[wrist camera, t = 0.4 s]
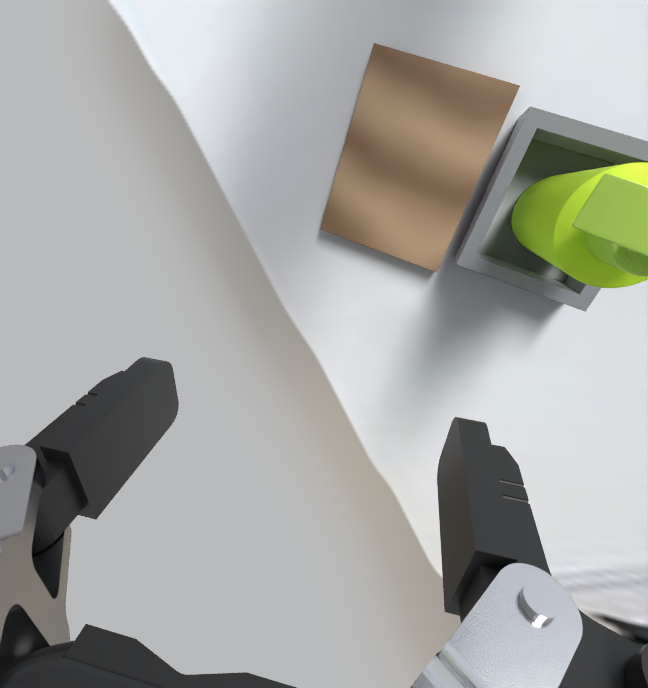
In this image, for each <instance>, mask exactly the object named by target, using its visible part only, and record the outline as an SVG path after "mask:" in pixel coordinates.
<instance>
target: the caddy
mask: <svg viewBox="0 0 648 688" xmlns="http://www.w3.org/2000/svg"><path fill="white" fill-rule="evenodd" d="M532 138H533V139H536V140H540V141H543V142H546V143H549V144H552V145H556V146H559V147H562V148H565V149H569V150H572V151H575V152H578V153H582V154H585V155H588V156H591V157H595V158H598V159H601V160H604V161H608V162H611V163H614V164H617V165H621V164H627V163H635V162H647V163H648V141H644V140H641V139H638V138H634V137H631V136H628V135H624V134H621V133H617V132H614V131H611V130H607V129H604V128H601V127H597V126H594V125H591V124H587V123H584V122H580V121H577V120H574V119H570V118H567V117H564V116H560V115H557V114H554V113H550V112H547V111H544V110H540V109H537V108H533V107H529V108H528V109H527V110H526V111H525V112H524V113H523V114H522V115H521V116H520V117H519V119H518V121H517V123H516V126H515V128H514V130H513V132H512V134H511V136H510V139H509V141H508V143H507V145H506V147H505V149H504V152H503V154H502V156H501V158H500V160H499V162H498V165H497V167H496V169H495V171H494V173H493V176H492V178H491V180H490V182H489V184H488V186H487V189H486V191H485V193H484V195H483V197H482V199H481V202H480V204H479V206H478V208H477V210H476V212H475V215H474V217H473V219H472V221H471V223H470V225H469V228H468V230H467V232H466V234H465V236H464V239H463V241H462V243H461V245H460V247H459V249H458V252H457V254H456V256H455V260H456V264H457V265H459V266H462V267H465V268H467V269H470V270H473V271H476V272H478V273H481V274H484V275H487V276H489V277H492V278H495V279H498V280H500V281H503V282H506V283H509V284H511V285H514V286H517V287H520V288H522V289H525V290H528V291H531V292H533V293H536V294H539V295H541V296H544V297H547V298H550V299H552V300H555V301H558V302H561V303H563V304H566V305H569V306H572V307H574V308H577V309H580V310H583V311H585V312H586V310H587V308H588V307H589V305H590V304H591V302H592V301H593V299H594V298H595V296H596V295H597V293H598V292H599V290H600V289H601V287H594V286H590V285H587V284H584V283H582V282H580V281H578V280H576V279H574V278H573V277H571V276H570V275H569V276H568V278H567V279H566V281H565V283H562V282H559V281H557V280H554V279H551V278H548V277H545V276H543V275H540V274H537V273H534V272H531V271H529V270H526V269H523V268H520V267H517V266H515V265H512V264H509V263H506V262H503V261H501V260H498V259H495V258H492V257H489V256H487V255H484V254H481V253H478V252H477V251H478V249H479V247H480V245H481V243H482V241H483V239H484V237H485V235H486V233H487V231H488V229H489V227H490V225H491V223H492V220H493V218H494V216H495V214H496V212H497V210H498V208H499V206H500V204H501V202H502V200H503V198H504V196H505V194H506V192H507V189H508V187H509V185H510V183H511V181H512V179H513V177H514V175H515V173H516V171H517V169H518V167H519V165H520V163H521V160H522V158H523V156H524V154H525V152H526V150H527V148H528V146H529V144H530V142H531V140H532Z"/></svg>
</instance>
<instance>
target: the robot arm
mask: <svg viewBox="0 0 648 688" xmlns="http://www.w3.org/2000/svg"><path fill="white" fill-rule="evenodd" d="M178 404H179V403H178V397H177V391H176V385H175V379H174V373H173V368H172V365H171V364H170V363H169V362H167V361H162V360H156V359H151V358H146V357H142V358H140V359H138V360H137V361H136V362H135V363H134V364H133V365H131V366H130V367H129V368H128V369H127V370H126V371H120V372H118V373H116V374H114V375H112V376H110V377H108V378H106V379H104V380H102V381H101V382H100V383H98V384H97V385H96V386H95V387H94V388H92V389H91V390H90V391H89V392H88V394H87V395H84V396H83V397H82V398H80V399H79V400H78V401H77V402H76V405H72V406H71V407H70V408H69V409H67V410H66V411H65V412H64V413H63V414H61V415H60V416H59V417H58V418H57V419H56V420H54V421H53V422H52V423H51V424H49V425H48V426H47V427H46V428H45V429H43V430H42V431H41V432H40V433H39V434H38V435H37V436H35V437H34V438H33V439H32V440H30V441H29V442H28V443H27V444H25V445H9V446H3V447H0V688H296V687H293V686H289V685H286V684H283V683H279V682H276V681H273V680H269V679H266V678H263V677H259V676H256V675H253V674H250V673H226V674H202V675H201V674H199V675H184V674H181V673H179V672H177V671H176V670H174V669H173V668H172V667H171V666H169V665H168V664H167V663H165V662H164V661H163V660H162V659H161V658H159V657H158V656H157V655H156V654H154V653H153V652H152V651H150V650H149V649H148V648H147V647H145V646H144V645H143V644H141V643H140V642H139V641H138V640H137V639H134V638H131V637H128V636H124V635H121V634H117V633H114V632H111V631H108V630H104V629H101V628H98V627H94V626H91V625H88V624H86V625H85V626H84V628H83V629H82V631H81V632H80V634H79V635H78V637H77V638H76V640H75V641H70V633H69V626H68V622H67V617H66V606H65V605H66V604H65V603H66V591H67V579H68V567H69V555H70V543H71V527H70V523H71V522H72V521H73V520H74V519H75V517H76V516H77V515H81V516H85V517H89V518H93V519H97V518H98V516H99V515H100V514H101V513H102V511H103V510H104V509H105V508H106V506H107V505H108V504H109V503H110V501H111V500H112V499H113V498H114V496H115V495H116V493H118V491H119V490H120V489H121V487H122V486H123V485H124V484H125V482H126V481H127V480H128V479H129V477H130V476H131V475H132V474H133V472H134V471H135V470H136V469H137V467H138V466H139V465H140V463H141V462H142V461H143V460H144V459H145V457H146V456H147V455H148V454H149V452H150V451H151V450H152V448H153V447H154V446H155V445H156V443H157V442H158V441H159V440H160V438H161V437H162V436H163V435H164V433H165V432H166V431H167V430H168V428H169V427H170V426H171V425H172V423H173V422H174V419H175V418H176V415H177V412H178ZM437 485H438V502H439V519H440V537H441V554H442V571H443V589H444V606H445V612H448V613H452V614H455V615H459V616H460V619H461V625H460V626H459V627H458V629H457V630H456V632H455V633H454V634H453V635H452V637H451V638H450V640H449V641H448V642H447V644H446V645H445V646H444V647H443V649H442V650H441V651H440V652H438V653H437V654H436V655H435V656H434V657H433V659H432V660H431V661H430V662H429V664H428V665H427V666H426V668H425V669H424V670H423V671H422V673H421V674H420V676H419V677H418V678H417V680H416V681H415V682H414V684H413V685H412V686H411V688H648V644H646V645H645V646H644V647H641V646H639V645H637V644H635V643H634V642H632V641H630V640H628V639H626V638H625V637H623V636H621V635H619V634H617V633H616V632H614V631H612V630H610V629H608V628H607V627H605V626H603V625H601V624H599V623H598V622H596V621H594V620H593V619H591V618H589V617H588V616H587V615H585V614H584V613H583V612H581V611H580V610H579V609H578V608H577V606H576V604H575V602H574V600H573V599H572V597H571V596H570V594H569V593H568V592H567V590H566V589H565V588H564V587H563V586H562V585H561V584H560V583H559V582H558V581H557V580H556V579H555V578H554V577H552V575H551V573H550V571H549V568H548V565H547V561H546V558H545V555H544V551H543V548H542V544H541V541H540V538H539V534H538V531H537V527H536V524H535V520H534V517H533V514H532V510H531V507H530V504H528V497H527V493H526V490H525V488H524V487H523V485H524V483H523V480H522V476H521V473H520V469H519V466H518V464H517V463H516V461H515V460H514V459H513V457H512V456H511V455H510V453H509V452H508V451H507V449H506V448H505V447H501V446H496V445H491V441H490V437H489V432H488V428H487V425H486V423H484V422H479V421H474V420H468V419H463V418H458V417H455V418H454V419H453V421H452V424H451V427H450V430H449V433H448V436H447V438H446V441H445V444H444V447H443V450H442V453H441V456H440V460H439V465H438V474H437Z"/></svg>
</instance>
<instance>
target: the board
mask: <svg viewBox="0 0 648 688" xmlns="http://www.w3.org/2000/svg"><path fill="white" fill-rule="evenodd" d="M519 87H520V86H519V85H516V84H512V83H509V82H505V81H502V80H498V79H495V78H492V77H488V76H485V75H481V74H478V73H474V72H471V71H467V70H464V69H461V68H457V67H454V66H450V65H447V64H443V63H440V62H437V61H433V60H430V59H426V58H423V57H419V56H416V55H413V54H409V53H406V52H402V51H399V50H395V49H392V48H389V47H385V46H382V45H378V44H375V43H374V45H373V49H372V52H371V55H370V59H369V62H368V66H367V69H366V73H365V76H364V80H363V83H362V86H361V90H360V93H359V97H358V100H357V104H356V107H355V111H354V114H353V117H352V121H351V124H350V128H349V131H348V135H347V138H346V141H345V145H344V148H343V152H342V155H341V159H340V162H339V166H338V169H337V172H336V176H335V179H334V183H333V186H332V190H331V193H330V197H329V200H328V203H327V207H326V210H325V214H324V217H323V221H322V224H321V228H320V229H321V230H324V231H327V232H329V233H332V234H335V235H337V236H340V237H343V238H346V239H348V240H351V241H354V242H356V243H359V244H362V245H365V246H367V247H370V248H373V249H375V250H378V251H381V252H383V253H386V254H389V255H392V256H394V257H397V258H400V259H402V260H405V261H408V262H411V263H413V264H416V265H419V266H421V267H424V268H427V269H429V270H432V271H435V272H437V270H438V268H439V266H440V264H441V261H442V259H443V257H444V255H445V253H446V250H447V248H448V246H449V244H450V241H451V239H452V237H453V235H454V232H455V230H456V228H457V226H458V223H459V221H460V219H461V217H462V214H463V212H464V210H465V208H466V206H467V203H468V201H469V199H470V197H471V194H472V192H473V190H474V188H475V185H476V183H477V181H478V179H479V176H480V174H481V172H482V170H483V167H484V165H485V163H486V161H487V158H488V156H489V154H490V152H491V150H492V147H493V145H494V143H495V141H496V138H497V136H498V134H499V132H500V129H501V127H502V125H503V123H504V120H505V118H506V116H507V114H508V111H509V109H510V107H511V105H512V103H513V100H514V98H515V96H516V94H517V91H518V89H519Z"/></svg>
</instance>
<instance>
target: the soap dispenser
mask: <svg viewBox="0 0 648 688" xmlns="http://www.w3.org/2000/svg"><path fill="white" fill-rule="evenodd" d="M511 224H512V230H513V233H514V235H515V237H516V239H517V240H518V241H519V243H520V244H521V245H523V246H524V247H525V248H527V249H529V250H530V251H532V252H533V253H535V254H536V255H538V256H540V257H541V258H543V259H544V260H546V261H548V262H549V263H551V264H552V265H554V266H555V267H557V268H559V269H560V270H562V271H563V272H565V273H566V274H568V275H570V276H571V277H573V278H574V279H576V280H578V281H580V282H582V283H584V284H587V285H590V286H594V287H601V288H618V287H625V286H630V285H633V284H637V283H640V282H642V281H645V280H647V279H648V163H647V162H635V163H627V164H621V165H615V166H609V167H603V168H597V169H591V170H585V171H579V172H573V173H567V174H561V175H555V176H550V177H546V178H544V179H541V180H539V181H537V182H535V183H534V184H532V185H531V186H530V187H528V188H527V189H526V190H525V191H524V192H523V193H522V195H521V196H520V197H519V199H518V200H517V202H516V204H515V206H514V209H513V212H512V218H511Z"/></svg>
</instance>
